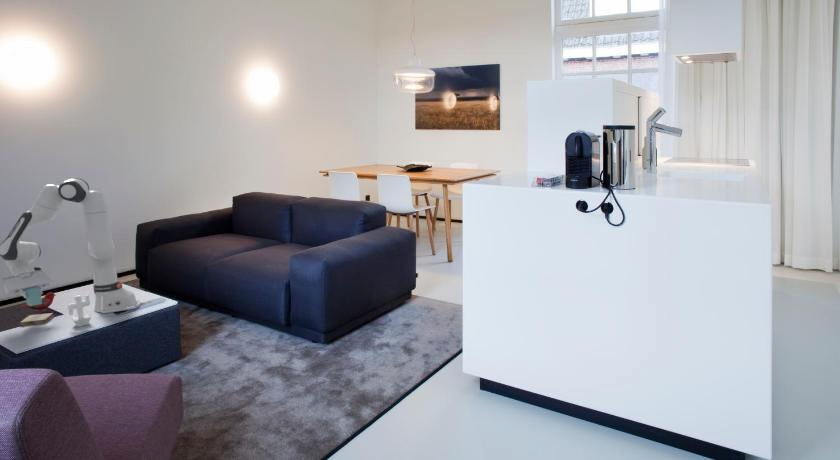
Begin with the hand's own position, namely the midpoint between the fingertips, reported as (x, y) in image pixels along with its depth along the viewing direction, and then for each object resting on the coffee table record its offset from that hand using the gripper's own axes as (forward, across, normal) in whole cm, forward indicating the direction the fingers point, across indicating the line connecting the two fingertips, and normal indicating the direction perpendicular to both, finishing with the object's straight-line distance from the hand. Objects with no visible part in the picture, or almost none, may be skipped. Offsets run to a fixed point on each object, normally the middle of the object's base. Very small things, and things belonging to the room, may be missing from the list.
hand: (33, 295), depth 285 cm
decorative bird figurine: (-1, +6, +20) cm, 21 cm away
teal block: (+3, 0, +4) cm, 5 cm away
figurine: (+28, +10, -9) cm, 31 cm away
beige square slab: (+9, 0, +10) cm, 14 cm away
